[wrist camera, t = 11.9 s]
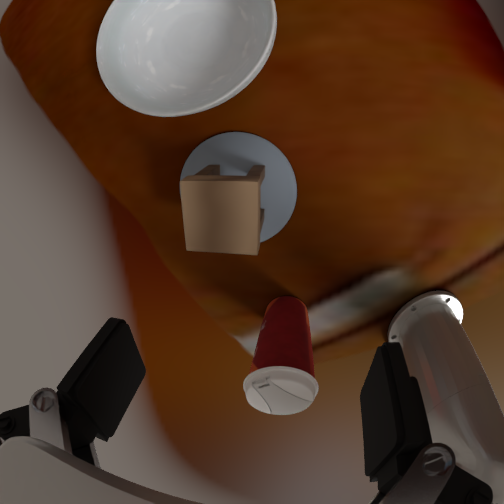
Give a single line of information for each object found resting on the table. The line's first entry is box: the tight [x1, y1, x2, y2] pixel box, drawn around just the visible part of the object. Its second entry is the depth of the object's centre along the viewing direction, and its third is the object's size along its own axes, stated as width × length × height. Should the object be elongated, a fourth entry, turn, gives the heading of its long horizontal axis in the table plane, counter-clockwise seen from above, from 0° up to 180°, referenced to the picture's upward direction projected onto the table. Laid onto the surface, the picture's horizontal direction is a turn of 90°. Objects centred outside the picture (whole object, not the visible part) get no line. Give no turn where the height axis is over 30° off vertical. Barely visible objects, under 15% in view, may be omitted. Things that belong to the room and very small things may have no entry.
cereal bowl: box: [96, 0, 277, 117], centre depth 21 cm, size 17×17×7 cm
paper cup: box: [243, 296, 318, 415], centre depth 32 cm, size 8×8×14 cm
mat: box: [180, 132, 297, 242], centre depth 31 cm, size 13×13×1 cm
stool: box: [180, 165, 265, 255], centre depth 27 cm, size 6×6×8 cm
